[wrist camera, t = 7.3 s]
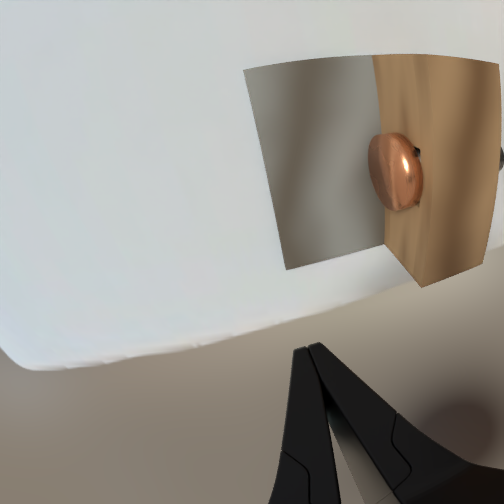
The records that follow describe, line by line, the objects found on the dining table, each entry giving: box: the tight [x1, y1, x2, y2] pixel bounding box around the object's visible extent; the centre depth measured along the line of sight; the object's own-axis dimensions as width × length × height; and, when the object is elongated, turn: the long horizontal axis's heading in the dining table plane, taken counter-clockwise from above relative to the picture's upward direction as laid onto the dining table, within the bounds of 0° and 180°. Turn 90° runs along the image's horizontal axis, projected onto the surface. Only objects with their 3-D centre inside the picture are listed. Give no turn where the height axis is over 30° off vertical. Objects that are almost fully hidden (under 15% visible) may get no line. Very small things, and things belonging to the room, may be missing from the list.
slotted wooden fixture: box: [243, 54, 501, 288], centre depth 16 cm, size 18×14×6 cm
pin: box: [368, 132, 504, 211], centre depth 16 cm, size 10×5×5 cm, turn 102°
